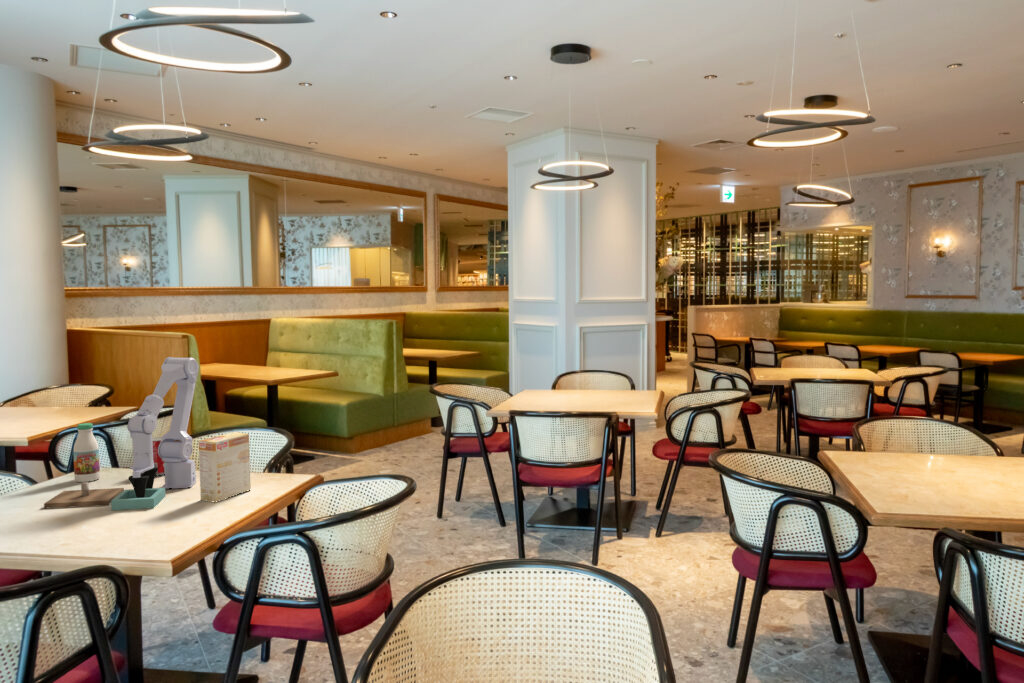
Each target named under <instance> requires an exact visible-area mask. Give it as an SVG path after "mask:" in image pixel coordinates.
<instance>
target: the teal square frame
mask: <svg viewBox="0 0 1024 683" xmlns="http://www.w3.org/2000/svg"><path fill="white" fill-rule="evenodd" d="M164 497H165V498H166V489H165V488H161V487H159V488H158V487H156V488H154V487H153V488H150V489H146V491H145V497H144V498H137V497H136V494H135V491H134V488H131V489H130V488H129V489H124V491H123V492H121V493H120V494H119V495H118V496H116V497H115V498H114V499H113V500H111V503H110V505H111V507H110V508H111V511H124V509H128V510H143V509H142V508H147V509H155V508H156V507H157V506H158V505H159V504H160V503H161V502H162V501H163V500H164V499H165V498H164ZM163 498H164V499H163ZM162 499H163V500H162ZM161 500H162V501H161ZM160 501H161V502H160ZM159 502H160V503H159ZM158 503H159V504H158ZM157 504H158V505H157ZM156 505H157V506H156ZM155 506H156V507H155ZM154 507H155V508H154ZM122 509H123V510H122Z"/></svg>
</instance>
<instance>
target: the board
mask: <svg viewBox="0 0 1024 683" xmlns="http://www.w3.org/2000/svg"><path fill="white" fill-rule="evenodd" d="M89 483H90V482H80V484H81V485H80V488H81V489H76V490H75V489H71V490H63V491H61V492H59V493H58V494H57V495H55V496H54V497H52V498H51V499H49V500H47V501H46V502H44V503H43V507H44V508H43V509H48V508H47V507H62V508H70V507H69V506H81V507H92V506H91V505H94V506H93V507H96V506H95V505H99V506H109V505H111V500H113V499H114V498H115V497H116V496H118V495H119V494H120V493H121V492H123V491H124V490H125V488H124V487H116V488H115V487H113V488H111V487H110V488H96V489H89V488H90V487H89V486H90V484H89ZM108 504H109V505H108Z"/></svg>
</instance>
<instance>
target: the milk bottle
mask: <svg viewBox="0 0 1024 683" xmlns="http://www.w3.org/2000/svg"><path fill="white" fill-rule="evenodd" d="M76 426H77V432H78V434H77V437H76V440H75V443H74V445H73V473H74V481H75V482H77V483H84V482H88V483H90V482H94V480H95V481H97V479H98V480H100V478H101V467H100V449H99V448H100V447H99V444H98V441H97V439H96V438H95V436H94V433H93V430H94V428H93V426H94V424H93V423H91V422H84V423H79V424H77V425H76ZM89 481H90V482H89Z"/></svg>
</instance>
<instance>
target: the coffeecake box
mask: <svg viewBox="0 0 1024 683" xmlns="http://www.w3.org/2000/svg"><path fill="white" fill-rule="evenodd" d="M198 460H199V461H198V464H199V485H200V487H199V490H200V501H203V500H207V501H206V502H209V501H214V502H216V501H219V500H222V499H224V500H226V499H225V498H227V499H229V498H228V497H230V498H232V497H231V496H233V495H236V494H239V493H242V492H245V491H247V490H250V489H251V484H252V483H251V464H250V462H251V461H250V460H251V459H250V434H249V433H247V432H246V433H245V432H240V431H233V432H228V433H225V434H221V435H216V436H212V437H209V438H204V439H201V440H200V439H199V440H198ZM251 490H252V489H251ZM245 493H246V492H245ZM242 494H243V493H242ZM239 495H240V494H239ZM236 496H237V495H236ZM233 497H234V496H233ZM222 501H223V500H222ZM214 502H213V503H214ZM219 502H220V501H219ZM216 503H217V502H216Z"/></svg>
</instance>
